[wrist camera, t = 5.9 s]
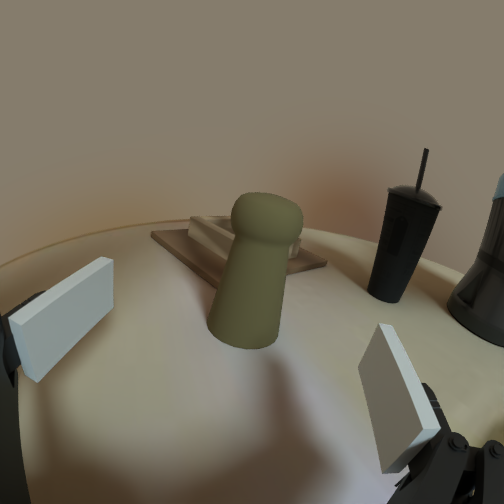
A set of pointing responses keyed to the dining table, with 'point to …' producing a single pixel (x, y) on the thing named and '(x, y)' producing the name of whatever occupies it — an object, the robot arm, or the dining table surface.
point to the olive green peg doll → (255, 271)
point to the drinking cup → (402, 237)
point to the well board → (220, 248)
